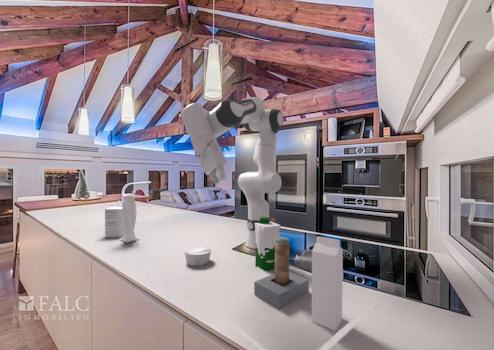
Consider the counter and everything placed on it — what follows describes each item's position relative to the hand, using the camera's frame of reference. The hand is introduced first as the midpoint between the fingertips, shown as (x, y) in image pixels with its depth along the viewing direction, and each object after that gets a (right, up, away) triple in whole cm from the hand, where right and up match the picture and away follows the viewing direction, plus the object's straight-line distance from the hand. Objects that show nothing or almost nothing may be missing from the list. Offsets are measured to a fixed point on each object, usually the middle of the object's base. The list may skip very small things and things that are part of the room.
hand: (220, 181), depth 85 cm
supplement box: (-70, -35, +58) cm, 97 cm away
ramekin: (-11, -35, +16) cm, 40 cm away
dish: (+37, -36, +11) cm, 53 cm away
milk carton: (+18, -35, +9) cm, 41 cm away
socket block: (+20, -35, -12) cm, 43 cm away
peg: (+20, -34, -12) cm, 42 cm away
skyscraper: (-56, -35, +46) cm, 80 cm away
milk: (+30, -36, -25) cm, 53 cm away
